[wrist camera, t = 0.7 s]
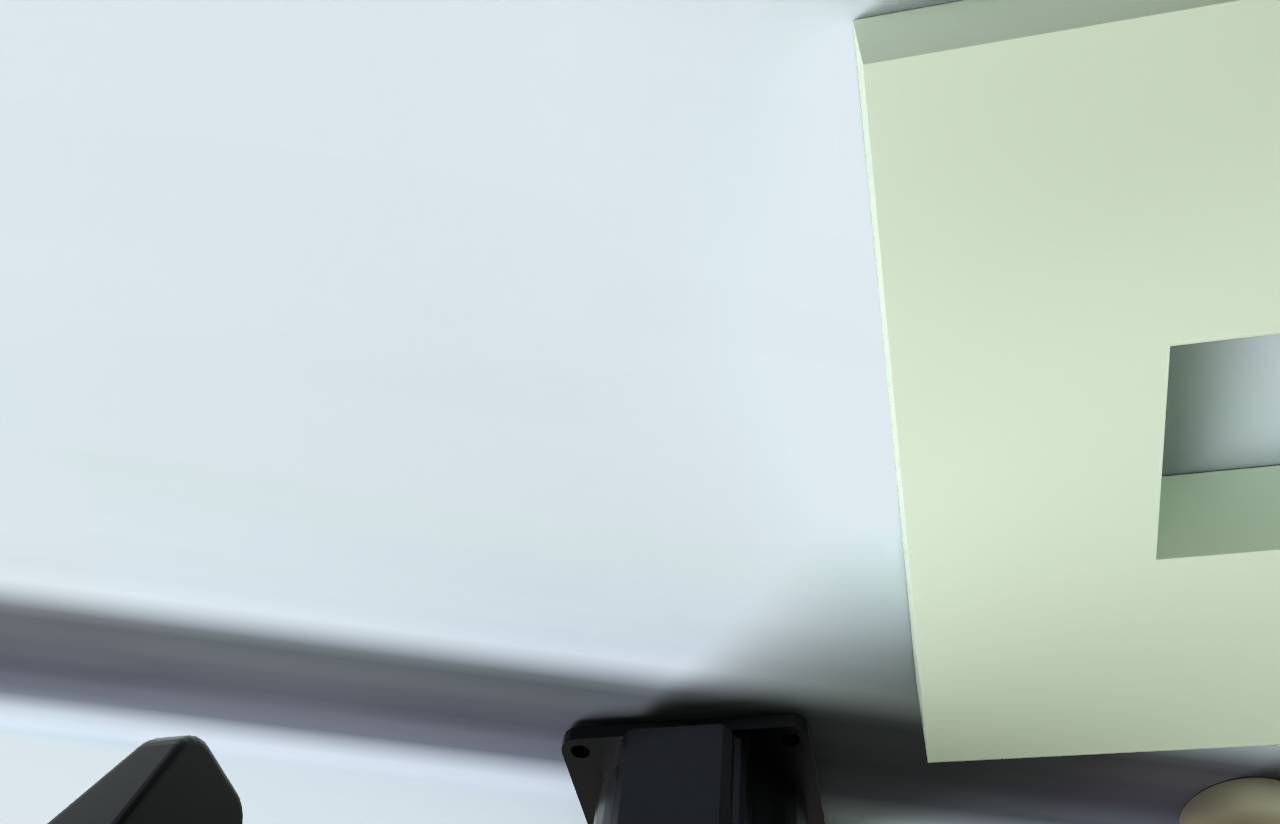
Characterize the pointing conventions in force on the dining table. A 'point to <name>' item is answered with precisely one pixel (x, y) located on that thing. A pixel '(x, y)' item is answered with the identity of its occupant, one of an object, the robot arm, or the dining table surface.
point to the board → (1075, 364)
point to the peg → (1235, 803)
